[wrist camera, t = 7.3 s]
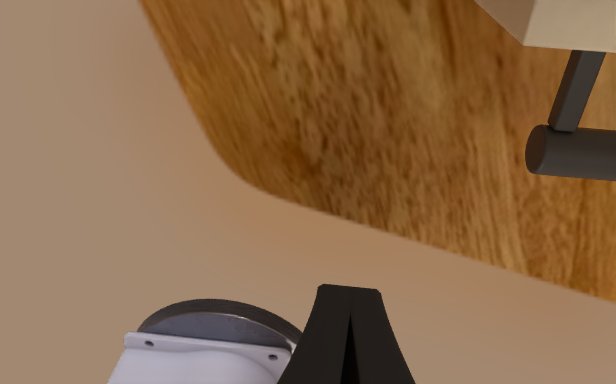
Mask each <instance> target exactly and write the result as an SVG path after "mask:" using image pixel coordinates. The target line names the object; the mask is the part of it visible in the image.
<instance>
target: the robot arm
mask: <svg viewBox="0 0 616 384" xmlns="http://www.w3.org/2000/svg"><path fill="white" fill-rule="evenodd" d="M123 342H124V346H125V349H124V351H123V353H122V355H121V357H120V359H119V361H118V363H117V365H116V367H115V369H114V370H113V372H112V374H111V376H110V378H109V380H108V382H107V384H415V381H414V379H413V377H412V375H411V373H410V371H409V368H408V366H407V364H406V362H405V360H404V357H403V355H402V353H401V351H400V348H399V346H398V343H397V341H396V338H395V336H394V333H393V331H392V328H391V325H390V323H389V320H388V317H387V314H386V311H385V307H384V304H383V300H382V296H381V293H380V292H379V291H378V290H377V289H370V288H360V287H349V286H339V285H330V284H322V285H321V286H319V287H318V290H317V295H316V299H315V302H314V306H313V309H312V311H311V314H310V317H309V319H308V322H307V324H306V327H305V329H304V331H303V334H302V336H301V338H300V340H299V342H298V344H297V346H296V348H295V350H294V352H293V355H292V357H291V352H290V351H289V350H288V349H287V348H283V347H275V346H265V345H256V344H247V343H237V342H228V341H219V340H209V339H200V338H191V337H182V336H172V335H163V334H154V333H144V332H135V331H130V332H127V334H126V335H125V336H124V338H123ZM272 354H273V355H272Z"/></svg>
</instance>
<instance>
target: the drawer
mask: <svg viewBox="0 0 616 384" xmlns="http://www.w3.org/2000/svg"><path fill="white" fill-rule="evenodd" d="M474 1H475V2H476V3H477V4H478V5H479V6H480V7H481V8H483V9H484V10H485V11H486V12H487V13H488V14H489V15H490V16H491V17H492V18H494V19H495V20H496V21H497V22H498V23H499V24H500V25H501V26H502V27H503V28H505V29H506V30H507V31H508V32H509V33H510V34H511V35H512V36H513V37H514V38H516V39H517V40H518V41H519V42H520V43H521V44H522V45H524V46H530V47H544V48H557V49H571V50H572V52H571V55H570V58H569V61H568V64H567V67H566V70H565V72H564V75H563V78H562V81H561V84H560V87H559V90H558V93H557V95H556V98H555V101H554V104H553V107H552V110H551V113H550V116H549V118H548V124H549V125H538V126H536V127H534V128H533V130H532V131H531V133H530V135H529V138H528V141H527V144H526V151H525V161H526V166H527V169H528V170H529V172H531V173H533V174H539V175H551V176H562V177H574V178H585V179H597V180H608V181H616V131H615V130H603V129H591V128H579V127H578V124H579V121H580V119H581V116H582V114H583V111H584V109H585V106H586V103H587V101H588V98H589V96H590V93H591V90H592V88H593V85H594V83H595V80H596V78H597V75H598V72H599V70H600V67H601V65H602V62H603V60H604V57H605V54H606V52H612V53H616V0H474Z"/></svg>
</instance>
